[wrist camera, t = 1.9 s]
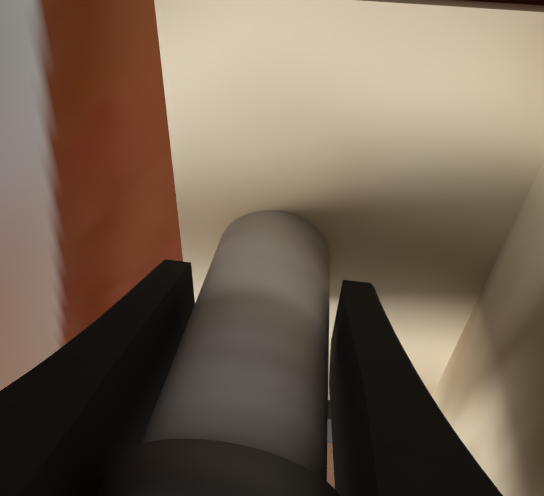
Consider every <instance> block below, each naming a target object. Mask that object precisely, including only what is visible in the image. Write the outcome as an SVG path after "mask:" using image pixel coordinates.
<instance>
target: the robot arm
mask: <svg viewBox="0 0 544 496" xmlns="http://www.w3.org/2000/svg"><path fill="white" fill-rule="evenodd" d="M194 305H195V298H194V288H193V278H192V267H191V262H182V261H173V260H164V261H163V262H162V263H160V264H159V265H158V266H157V267H156V268H155V269H153V270H152V271H151V272H150V273H149V274H148V275H147V276H146V277H145V278H144V279H142V280H141V281H140V282H139V283H138V284H137V285H136V286H135V287H134V288H132V289H131V290H130V291H129V292H128V293H127V294H126V295H125V296H123V297H122V298H121V299H120V300H119V301H118V302H117V303H115V304H114V305H113V306H112V307H111V308H110V309H108V310H107V311H106V312H105V313H104V314H103V315H101V316H100V317H99V318H98V319H97V320H95V321H94V322H93V323H92V324H91V325H89V326H88V327H87V328H86V329H84V330H83V331H82V332H81V333H79V334H78V335H77V336H76V337H74V338H73V339H72V340H70V341H69V342H68V343H67V344H65V345H64V346H63V347H61V348H60V349H59V350H58V351H56V352H55V353H54V354H52V355H51V356H50V357H48V358H47V359H46V360H44V361H43V362H41V363H40V364H39V365H37V366H36V367H35V368H33V369H32V370H30V371H29V372H27V373H26V374H25V375H23V376H22V377H20V378H19V379H17V380H16V381H14V382H13V383H11V384H10V385H9V386H7V387H5V388H4V389H2V390H1V391H0V496H97V494H98V492H99V489H100V487H101V485H102V482H103V480H104V478H105V475H106V473H107V471H108V468H109V466H110V464H111V463H112V461H113V460H114V458H116V457H117V456H118V455H119V454H120V453H122V452H123V451H125V450H127V449H129V448H131V447H134V446H137V445H139V444H141V442H142V439H143V437H144V434H145V432H146V429H147V426H148V424H149V421H150V419H151V416H152V414H153V411H154V408H155V406H156V403H157V401H158V398H159V396H160V393H161V390H162V388H163V385H164V383H165V380H166V378H167V375H168V372H169V370H170V367H171V365H172V362H173V360H174V357H175V354H176V352H177V349H178V347H179V344H180V342H181V339H182V336H183V334H184V331H185V329H186V326H187V324H188V321H189V318H190V316H191V313H192V311H193V308H194ZM329 394H330V411H331V428H332V444H333V461H334V477H335V490H336V491H337V492H338V494H339V495H340V496H503V495H502V494H501V492H500V491H499V490H498V488H497V487H496V486H495V485H494V483H493V482H492V481H491V479H490V478H489V477H488V475H487V474H486V473H485V472H484V470H483V469H482V468H481V466H480V465H479V464H478V463H477V461H476V460H475V458H474V457H473V456H472V454H471V453H470V452H469V450H468V449H467V447H466V446H465V445H464V443H463V442H462V441H461V439H460V438H459V436H458V435H457V434H456V432H455V431H454V429H453V428H452V426H451V425H450V423H449V422H448V420H447V419H446V417H445V416H444V414H443V413H442V411H441V410H440V408H439V407H438V405H437V404H436V402H435V401H434V399H433V397H432V396H431V394H430V393H429V391H428V389H427V388H426V386H425V385H424V383H423V381H422V380H421V378H420V376H419V375H418V373H417V371H416V370H415V368H414V366H413V364H412V362H411V361H410V359H409V357H408V355H407V354H406V352H405V350H404V348H403V346H402V345H401V343H400V341H399V339H398V337H397V335H396V333H395V331H394V329H393V327H392V325H391V323H390V321H389V319H388V317H387V315H386V313H385V311H384V309H383V306H382V304H381V302H380V300H379V297H378V295H377V293H376V290H375V288H374V286H373V285H372V284H371V283H367V282H358V281H350V280H343V281H342V286H341V292H340V297H339V302H338V307H337V312H336V317H335V322H334V328H333V333H332V338H331V349H330V369H329Z"/></svg>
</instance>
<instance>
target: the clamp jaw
mask: <svg viewBox="0 0 544 496" xmlns="http://www.w3.org/2000/svg"><path fill="white" fill-rule="evenodd" d="M154 1H155V10H156V19H157V28H158V37H159V46H160V55H161V64H162V73H163V82H164V91H165V100H166V109H167V118H168V127H169V136H170V145H171V154H172V163H173V172H174V182H175V191H176V200H177V209H178V218H179V227H180V236H181V245H182V254H183V262H191V267H192V278H193V288H194V298H195V305H194V308H193V311H192V313H191V316H190V318H189V321H188V324H187V326H186V329H185V331H184V334H183V336H182V339H181V342H180V344H179V347H178V349H177V352H176V354H175V357H174V360H173V362H172V365H171V367H170V370H169V372H168V375H167V378H166V380H165V383H164V385H163V388H162V390H161V393H160V396H159V398H158V401H157V403H156V406H155V408H154V411H153V414H152V416H151V419H150V421H149V424H148V426H147V429H146V432H145V434H144V437H143V439H142V442H141V444H139V445H137V446H134V447H131V448H129V449H127V450H125V451H123V452H122V453H120V454H119V455H118V456H117V457H116V458H114V460H113V461H112V463H111V464H110V466H109V468H108V471H107V473H106V475H105V478H104V480H103V482H102V485H101V487H100V489H99V492H98V494H97V496H340V495H339V494H338V492H337V491H336V490H335V489H334V488H333V487H332V486H331V485H330V484H329V483H327V482H326V480H327V422H328V400H330V394H329V369H330V349H331V338H332V333H333V328H334V322H335V317H336V312H337V307H338V302H339V297H340V292H341V286H342V281H343V280H350V281H358V282H367V283H371V284H372V285H373V286H374V288H375V290H376V293H377V295H378V297H379V300H380V302H381V304H382V306H383V309H384V311H385V313H386V315H387V317H388V319H389V321H390V323H391V325H392V327H393V329H394V331H395V333H396V335H397V337H398V339H399V341H400V343H401V345H402V346H403V348H404V350H405V352H406V354H407V355H408V357H409V359H410V361H411V362H412V364H413V366H414V368H415V370H416V371H417V373H418V375H419V376H420V378H421V380H422V381H423V383H424V385H425V386H426V388H427V389H428V391H429V393H430V394H431V396H432V397H433V399H434V401H435V402H436V404H437V405H438V407H439V408H440V410H441V411H442V413H443V414H444V416H445V417H446V419H447V420H448V422H449V423H450V425H451V426H452V428H453V429H454V431H455V432H456V434H457V435H458V436H459V438H460V439H461V441H462V442H463V443H464V445H465V446H466V447H467V449H468V450H469V452H470V453H471V454H472V456H473V457H474V458H475V460H476V461H477V463H478V464H479V465H480V466H481V468H482V469H483V470H484V472H485V473H486V474H487V475H488V477H489V478H490V479H491V481H492V482H493V483H494V485H495V486H496V487H497V488H498V490H499V491H500V492H501V494H502V495H503V496H544V5H529V4H513V3H497V2H481V1H465V0H154Z"/></svg>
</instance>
